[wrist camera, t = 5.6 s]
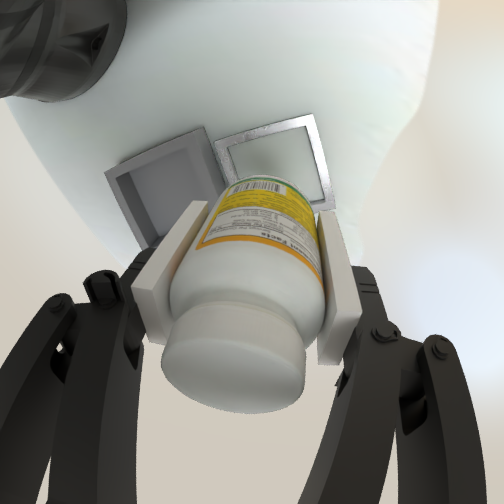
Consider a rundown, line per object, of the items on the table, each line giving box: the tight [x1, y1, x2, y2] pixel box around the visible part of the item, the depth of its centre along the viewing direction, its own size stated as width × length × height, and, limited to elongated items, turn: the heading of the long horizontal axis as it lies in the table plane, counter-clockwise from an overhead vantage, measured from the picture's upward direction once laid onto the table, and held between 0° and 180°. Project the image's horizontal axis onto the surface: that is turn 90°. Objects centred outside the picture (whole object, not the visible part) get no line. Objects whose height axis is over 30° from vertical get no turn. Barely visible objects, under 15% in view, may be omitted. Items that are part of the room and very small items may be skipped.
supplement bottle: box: [161, 175, 325, 414], centre depth 11 cm, size 5×5×10 cm
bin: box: [104, 127, 227, 251], centre depth 25 cm, size 10×10×3 cm
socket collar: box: [214, 114, 336, 213], centre depth 24 cm, size 9×9×1 cm
